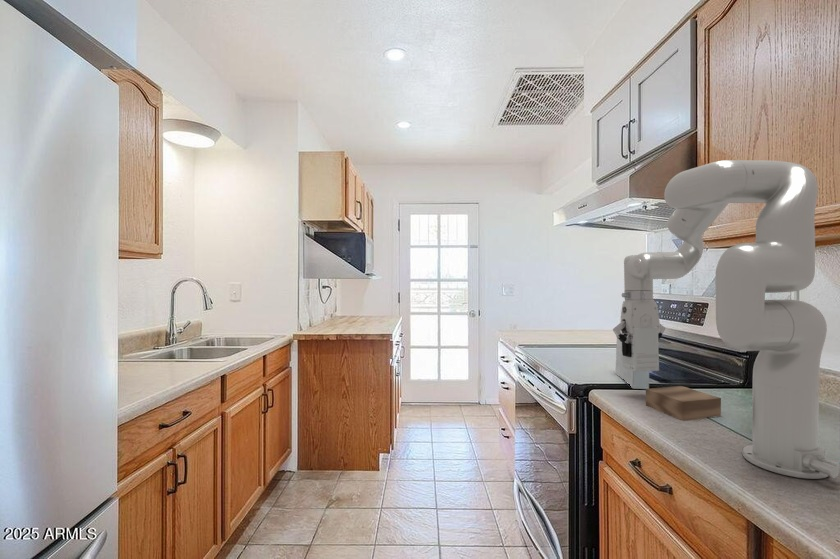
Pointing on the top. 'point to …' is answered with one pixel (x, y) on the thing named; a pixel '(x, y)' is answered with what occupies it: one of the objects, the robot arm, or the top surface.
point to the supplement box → (643, 350)
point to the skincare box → (630, 372)
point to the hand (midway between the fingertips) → (639, 355)
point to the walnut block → (683, 402)
